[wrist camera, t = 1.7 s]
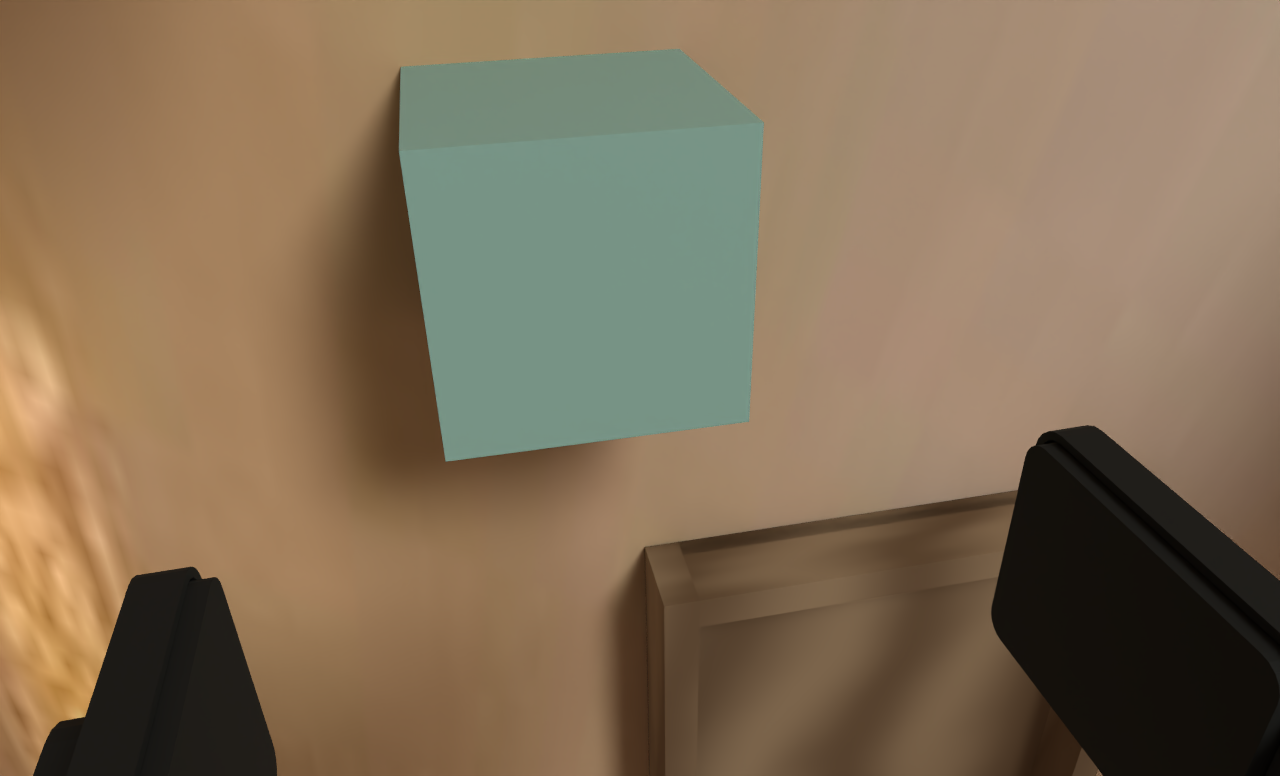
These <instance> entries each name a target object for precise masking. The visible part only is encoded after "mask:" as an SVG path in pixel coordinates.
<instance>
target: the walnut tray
mask: <svg viewBox="0 0 1280 776" xmlns="http://www.w3.org/2000/svg"><path fill="white" fill-rule="evenodd" d="M1017 492H1018V490H1017V491H1011V492H1004V493H998V494H991V495H985V496H978V497H971V498H965V499H958V500H952V501H945V502H939V503H932V504H926V505H919V506H912V507H906V508H899V509H893V510H886V511H880V512H873V513H867V514H860V515H853V516H847V517H840V518H834V519H827V520H821V521H814V522H808V523H801V524H794V525H788V526H781V527H775V528H768V529H762V530H755V531H749V532H742V533H735V534H729V535H722V536H716V537H709V538H703V539H696V540H690V541H683V542H676V543H670V544H663V545H657V546H650V547H645V574H646V626H647V677H648V728H649V776H1096V773H1097V770H1098V768H1097V767H1096V765H1095V764H1094V763H1093V761H1092V760H1091V759H1090V758H1089V756H1088V755H1087V754H1086V752H1085V751H1084V750H1083V748H1082V747H1081V746H1080V744H1079V743H1078V742H1077V740H1076V739H1075V738H1074V736H1073V735H1072V734H1071V732H1070V731H1069V730H1068V729H1067V727H1066V726H1065V725H1064V723H1063V722H1062V721H1061V719H1060V718H1059V717H1058V715H1057V714H1056V713H1055V711H1054V710H1053V709H1052V707H1051V706H1050V705H1049V703H1048V702H1047V701H1046V700H1045V698H1044V697H1043V696H1042V694H1041V693H1040V692H1039V690H1038V689H1037V688H1036V686H1035V685H1034V684H1033V682H1032V681H1031V680H1030V678H1029V677H1028V676H1027V674H1026V673H1025V672H1024V670H1023V669H1022V668H1021V667H1020V665H1019V664H1018V663H1017V661H1016V660H1015V659H1014V657H1013V656H1012V655H1011V653H1010V652H1009V651H1008V649H1007V648H1006V647H1005V645H1004V644H1003V643H1002V641H1001V640H1000V639H999V637H998V635H997V634H996V631H995V629H994V627H993V623H992V618H991V607H992V602H993V598H994V593H995V589H996V585H997V580H998V576H999V571H1000V567H1001V563H1002V558H1003V554H1004V549H1005V545H1006V541H1007V536H1008V532H1009V527H1010V523H1011V519H1012V514H1013V510H1014V505H1015V501H1016V497H1017Z"/></svg>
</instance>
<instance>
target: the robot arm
mask: <svg viewBox="0 0 1280 776" xmlns="http://www.w3.org/2000/svg"><path fill="white" fill-rule="evenodd" d="M991 618H992V623H993V627H994V629H995V631H996V634H997V635H998V637H999V639H1000V640H1001V641H1002V643H1003V644H1004V645H1005V647H1006V648H1007V649H1008V651H1009V652H1010V653H1011V655H1012V656H1013V657H1014V659H1015V660H1016V661H1017V663H1018V664H1019V665H1020V667H1021V668H1022V669H1023V670H1024V672H1025V673H1026V674H1027V676H1028V677H1029V678H1030V680H1031V681H1032V682H1033V684H1034V685H1035V686H1036V688H1037V689H1038V690H1039V692H1040V693H1041V694H1042V696H1043V697H1044V698H1045V700H1046V701H1047V702H1048V703H1049V705H1050V706H1051V707H1052V709H1053V710H1054V711H1055V713H1056V714H1057V715H1058V717H1059V718H1060V719H1061V721H1062V722H1063V723H1064V725H1065V726H1066V727H1067V729H1068V730H1069V731H1070V732H1071V734H1072V735H1073V736H1074V738H1075V739H1076V740H1077V742H1078V743H1079V744H1080V746H1081V747H1082V748H1083V750H1084V751H1085V752H1086V754H1087V755H1088V756H1089V758H1090V759H1091V760H1092V761H1093V763H1094V764H1095V765H1096V767H1097V768H1098V769H1099V771H1100V772H1101V773H1102V775H1103V776H1280V581H1279V580H1278V579H1277V578H1276V577H1275V576H1273V575H1272V574H1271V573H1270V572H1269V571H1267V570H1266V569H1265V568H1264V567H1263V566H1262V565H1260V564H1259V563H1258V562H1257V561H1256V560H1254V559H1253V558H1252V557H1251V556H1250V555H1248V554H1247V553H1246V552H1245V551H1244V550H1243V549H1241V548H1240V547H1239V546H1238V545H1237V544H1235V543H1234V542H1233V541H1232V540H1231V539H1230V538H1228V537H1227V536H1226V535H1225V534H1224V533H1222V532H1221V531H1220V530H1219V529H1218V528H1216V527H1215V526H1214V525H1213V524H1212V523H1211V522H1209V521H1208V520H1207V519H1206V518H1205V517H1203V516H1202V515H1201V514H1200V513H1199V512H1197V511H1196V510H1195V509H1194V508H1193V507H1192V506H1190V505H1189V504H1188V503H1187V502H1186V501H1184V500H1183V499H1182V498H1181V497H1180V496H1179V495H1177V494H1176V493H1175V492H1174V491H1173V490H1171V489H1170V488H1169V487H1168V486H1167V485H1165V484H1164V483H1163V482H1162V481H1161V480H1160V479H1158V478H1157V477H1156V476H1155V475H1154V474H1152V473H1151V472H1150V471H1149V470H1148V469H1147V468H1145V467H1144V466H1143V465H1142V464H1141V463H1139V462H1138V461H1137V460H1136V459H1135V458H1133V457H1132V456H1131V455H1130V454H1129V453H1128V452H1126V451H1125V450H1124V449H1123V448H1122V447H1120V446H1119V445H1118V444H1117V443H1116V442H1115V441H1113V440H1112V439H1111V438H1110V437H1109V436H1107V435H1106V434H1105V433H1104V432H1103V431H1101V430H1100V429H1098V428H1096V427H1095V426H1089V425H1086V426H1080V427H1074V428H1067V429H1061V430H1055V431H1049V432H1046V433H1043V434H1042V435H1041V436H1040V437H1039V439H1038V441H1037V443H1036V446H1033V447H1031V448H1030V449H1029V450H1028V452H1027V454H1026V457H1025V461H1024V466H1023V470H1022V474H1021V479H1020V483H1019V488H1018V492H1017V497H1016V501H1015V505H1014V510H1013V514H1012V519H1011V523H1010V527H1009V532H1008V536H1007V541H1006V545H1005V549H1004V554H1003V558H1002V563H1001V567H1000V571H999V576H998V580H997V585H996V589H995V593H994V598H993V602H992V607H991ZM33 776H277V765H276V756H275V750H274V746H273V743H272V740H271V737H270V734H269V731H268V728H267V724H266V721H265V718H264V715H263V712H262V709H261V706H260V703H259V700H258V697H257V693H256V690H255V687H254V684H253V681H252V678H251V675H250V672H249V669H248V665H247V662H246V659H245V656H244V653H243V650H242V647H241V644H240V641H239V638H238V634H237V631H236V628H235V625H234V622H233V619H232V616H231V613H230V610H229V606H228V603H227V600H226V597H225V594H224V591H223V588H222V585H221V583H220V581H219V580H218V578H216V577H213V578H207V579H201V576H200V574H199V572H198V571H197V569H196V568H194V567H187V568H180V569H174V570H168V571H161V572H155V573H149V574H142V575H136V576H135V577H133V578H132V579H131V581H130V584H129V586H128V589H127V592H126V595H125V598H124V601H123V604H122V607H121V610H120V613H119V616H118V619H117V622H116V625H115V628H114V631H113V634H112V637H111V640H110V643H109V646H108V649H107V652H106V655H105V658H104V662H103V665H102V668H101V671H100V674H99V677H98V680H97V683H96V686H95V689H94V692H93V695H92V698H91V701H90V704H89V707H88V710H87V713H86V716H85V717H83V718H77V719H72V720H66V721H61V722H59V723H58V724H57V725H56V726H55V727H54V728H53V729H52V730H51V732H50V734H49V736H48V738H47V740H46V742H45V744H44V747H43V750H42V752H41V755H40V758H39V761H38V763H37V766H36V769H35V772H34V774H33Z"/></svg>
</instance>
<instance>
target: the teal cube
mask: <svg viewBox="0 0 1280 776" xmlns="http://www.w3.org/2000/svg"><path fill="white" fill-rule="evenodd" d="M763 128H764V122H763V121H761V120H760V119H759V118H758V117H757V116H756V115H755V114H753V113H752V112H751V111H750V110H749V109H748V108H747V107H745V106H744V105H743V104H742V103H741V102H740V101H739V100H737V99H736V98H735V97H734V96H733V95H732V94H731V93H729V92H728V91H727V90H726V89H725V88H724V87H723V86H721V85H720V84H719V83H718V82H717V81H716V80H714V79H713V78H712V77H711V76H710V75H709V74H708V73H706V72H705V71H704V70H703V69H702V68H701V67H700V66H698V65H697V64H696V63H695V62H694V61H693V60H692V59H690V58H689V57H688V56H687V55H686V54H685V53H684V52H682V51H681V50H680V49H670V50H654V51H639V52H623V53H608V54H592V55H577V56H561V57H546V58H530V59H515V60H499V61H484V62H468V63H452V64H437V65H421V66H406V67H401V75H400V122H399V155H400V162H401V168H402V175H403V182H404V188H405V195H406V202H407V208H408V215H409V222H410V228H411V235H412V241H413V248H414V255H415V261H416V268H417V275H418V281H419V288H420V295H421V301H422V308H423V314H424V321H425V328H426V334H427V341H428V348H429V354H430V361H431V368H432V374H433V381H434V387H435V394H436V401H437V407H438V414H439V421H440V427H441V434H442V441H443V447H444V454H445V460H446V462H447V461H454V460H462V459H470V458H477V457H485V456H492V455H500V454H507V453H515V452H523V451H530V450H538V449H545V448H553V447H560V446H568V445H576V444H583V443H591V442H598V441H606V440H614V439H621V438H629V437H636V436H644V435H651V434H659V433H667V432H674V431H682V430H689V429H697V428H704V427H712V426H720V425H727V424H735V423H742V422H749V412H750V391H751V371H752V351H753V331H754V310H755V290H756V270H757V249H758V229H759V209H760V189H761V168H762V148H763Z"/></svg>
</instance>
